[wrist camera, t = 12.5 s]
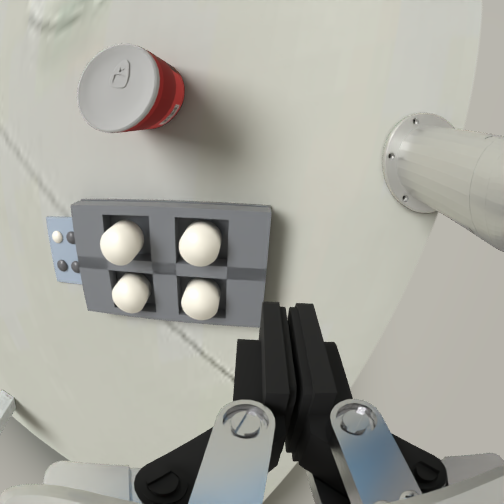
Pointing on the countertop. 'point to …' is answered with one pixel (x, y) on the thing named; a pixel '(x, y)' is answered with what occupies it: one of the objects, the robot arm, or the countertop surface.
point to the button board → (166, 256)
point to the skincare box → (6, 408)
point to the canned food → (128, 90)
